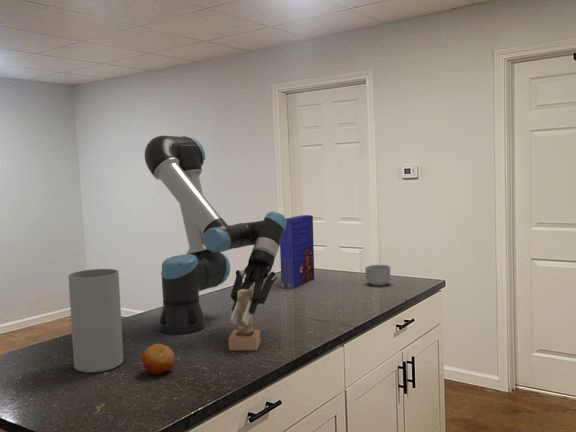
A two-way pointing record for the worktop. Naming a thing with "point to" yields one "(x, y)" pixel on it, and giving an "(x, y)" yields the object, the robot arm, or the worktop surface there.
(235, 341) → the orange-brown square frame
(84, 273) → the cylinder vase
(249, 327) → the beige tall square post
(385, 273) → the teacup
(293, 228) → the cereal box
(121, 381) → the worktop surface
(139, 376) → the worktop surface
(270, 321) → the worktop surface
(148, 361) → the fruit
